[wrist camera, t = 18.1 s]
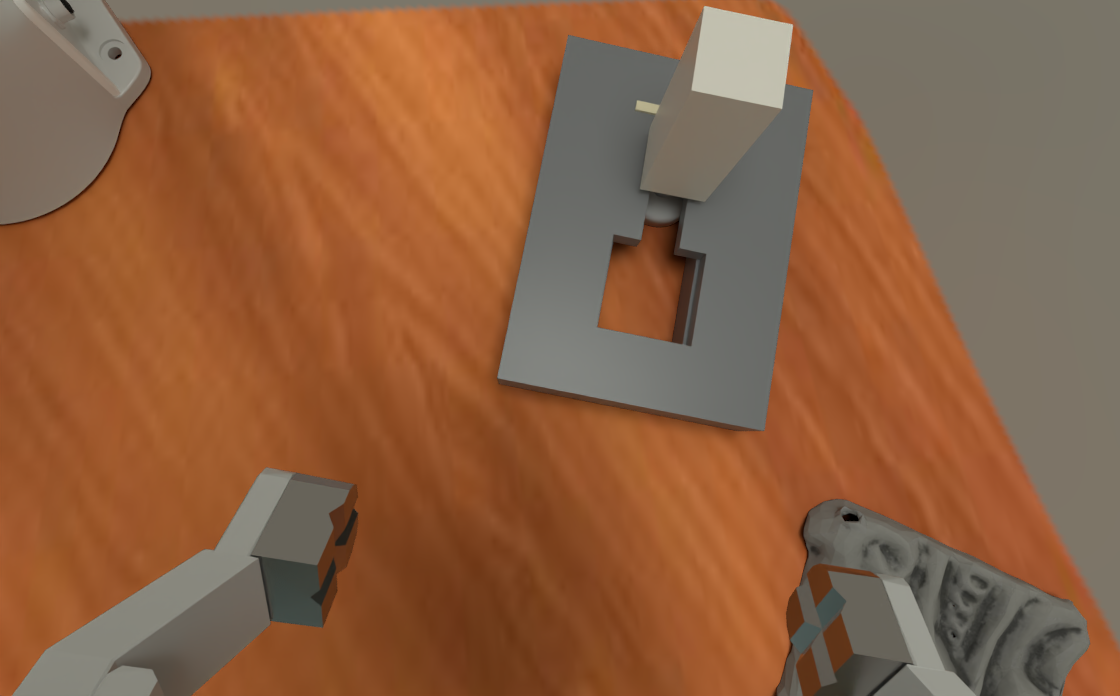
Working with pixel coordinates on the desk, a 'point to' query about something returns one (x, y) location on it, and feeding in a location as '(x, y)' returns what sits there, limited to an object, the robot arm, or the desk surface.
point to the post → (713, 108)
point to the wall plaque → (954, 579)
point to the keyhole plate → (618, 216)
